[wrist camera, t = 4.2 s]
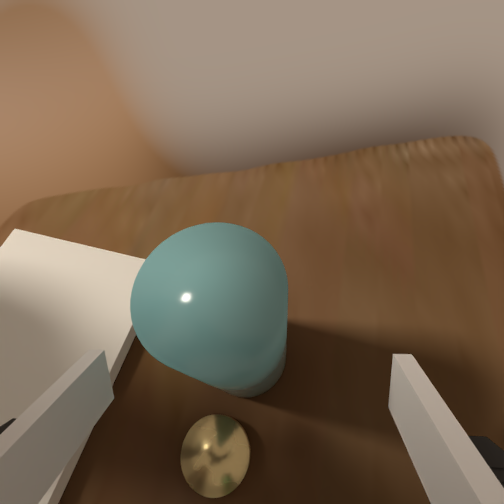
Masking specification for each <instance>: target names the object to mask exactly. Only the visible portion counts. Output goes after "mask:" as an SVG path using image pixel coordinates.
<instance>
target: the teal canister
mask: <svg viewBox="0 0 504 504" xmlns="http://www.w3.org/2000/svg"><path fill="white" fill-rule="evenodd" d="M287 310H288V281H287V275H286V271H285V268H284V265H283V263H282V261H281V259H280V257H279V255H278V254H277V252H276V251H275V249H274V248H273V247H272V246H271V245H270V244H269V243H268V242H267V241H266V240H265V239H264V238H263V237H261V236H260V235H259V234H257V233H255V232H253V231H252V230H250V229H247V228H245V227H242V226H239V225H235V224H229V223H205V224H200V225H196V226H192V227H189V228H186V229H184V230H182V231H179V232H178V233H176V234H174V235H172V236H170V237H169V238H168V239H166V240H165V241H163V242H162V243H161V244H160V245H159V246H158V247H156V248H155V249H154V250H153V252H152V253H151V254H150V255H149V256H148V257H147V259H146V260H145V261H144V263H143V265H142V266H141V268H140V270H139V271H138V274H137V276H136V278H135V281H134V284H133V288H132V292H131V299H130V312H131V320H132V324H133V327H134V330H135V332H136V335H137V337H138V339H139V340H140V342H141V344H142V345H143V347H144V348H145V349H146V350H147V351H148V352H149V353H150V354H151V355H152V356H153V357H154V358H156V359H157V360H158V361H160V362H161V363H163V364H165V365H166V366H168V367H171V368H173V369H175V370H177V371H179V372H182V373H184V374H186V375H188V376H191V377H193V378H195V379H197V380H199V381H202V382H204V383H206V384H208V385H211V386H213V387H215V388H217V389H219V390H222V391H224V392H226V393H228V394H231V395H233V396H237V397H244V398H246V397H254V396H258V395H261V394H263V393H265V392H266V391H268V390H269V389H271V388H272V387H273V386H274V385H275V384H276V382H277V381H278V380H279V378H280V377H281V375H282V372H283V370H284V367H285V363H286V344H287Z"/></svg>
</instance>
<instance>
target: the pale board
mask: <svg viewBox="0 0 504 504" xmlns="http://www.w3.org/2000/svg"><path fill="white" fill-rule="evenodd" d="M144 261H145V259H141V258H137V257H133V256H128V255H124V254H120V253H116V252H111V251H107V250H103V249H99V248H95V247H90V246H86V245H82V244H78V243H73V242H69V241H65V240H61V239H56V238H52V237H48V236H44V235H39V234H35V233H31V232H27V231H22V230H18V229H14V230H13V232H12V233H11V234H10V235H9V237H8V238H7V239H6V241H5V242H4V243H3V245H2V246H1V247H0V426H2V425H3V424H5V423H6V422H8V421H9V420H11V419H12V418H16V419H17V418H18V417H19V416H20V415H21V414H22V413H23V412H24V411H25V410H26V409H28V408H29V407H30V406H31V405H32V404H33V403H34V402H35V401H36V400H37V399H38V398H39V397H40V396H41V395H42V394H43V393H44V392H45V391H46V390H47V389H48V388H50V387H51V386H52V385H53V384H54V383H55V382H56V381H57V380H58V379H59V378H60V377H61V376H62V375H63V374H64V373H65V372H66V371H67V370H68V369H69V368H70V367H71V366H73V365H74V364H75V363H76V362H77V361H78V360H79V359H80V358H81V357H82V356H83V355H84V354H85V353H86V352H87V351H88V350H104V351H105V356H106V360H107V365H108V370H109V375H110V380H111V385H112V386H113V384H114V381H115V379H116V377H117V375H118V373H119V371H120V368H121V366H122V364H123V362H124V360H125V358H126V355H127V353H128V351H129V349H130V347H131V345H132V342H133V340H134V338H135V336H136V332H135V330H134V327H133V324H132V320H131V312H130V299H131V292H132V288H133V284H134V281H135V278H136V276H137V274H138V271H139V270H140V268H141V266H142V265H143V263H144ZM92 429H93V428H92ZM91 431H92V430H91ZM91 431H90V432H89V434H88V435H87V437H86V438H85V439H84V441H83V442H82V444H81V445H80V446H79V448H78V449H77V451H76V452H75V453H74V455H73V456H72V457H71V459H70V460H69V462H68V463H67V464H66V466H65V467H64V469H63V470H62V471H61V473H60V474H59V476H58V477H57V478H56V480H55V481H54V482H53V484H52V485H51V487H50V488H49V489H48V491H47V492H46V494H45V495H44V496H43V498H42V499H41V501H40V502H39V503H38V504H58V503H59V501H60V499H61V497H62V494H63V492H64V490H65V488H66V486H67V484H68V481H69V479H70V477H71V475H72V473H73V470H74V468H75V466H76V464H77V462H78V460H79V457H80V455H81V453H82V451H83V449H84V447H85V444H86V442H87V440H88V438H89V436H90V434H91Z"/></svg>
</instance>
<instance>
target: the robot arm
mask: <svg viewBox="0 0 504 504" xmlns="http://www.w3.org/2000/svg"><path fill="white" fill-rule="evenodd" d="M113 399H114V394H113V389H112V385H111V380H110V375H109V370H108V365H107V360H106V356H105V351H104V350H88V351H87V352H86V353H85V354H84V355H83V356H82V357H81V358H80V359H79V360H78V361H77V362H76V363H75V364H74V365H73V366H71V367H70V368H69V369H68V370H67V371H66V372H65V373H64V374H63V375H62V376H61V377H60V378H59V379H58V380H57V381H56V382H55V383H54V384H53V385H52V386H51V387H50V388H48V389H47V390H46V391H45V392H44V393H43V394H42V395H41V396H40V397H39V398H38V399H37V400H36V401H35V402H34V403H33V404H32V405H31V406H30V407H29V408H28V409H26V410H25V411H24V412H23V413H22V414H21V415H20V416H19V417H18V418H17V419H16V418H12V419H11V420H9V421H8V422H6V423H5V424H3V425H2V426H0V504H38V503H39V502H40V501H41V499H42V498H43V496H44V495H45V494H46V492H47V491H48V489H49V488H50V487H51V485H52V484H53V482H54V481H55V480H56V478H57V477H58V476H59V474H60V473H61V471H62V470H63V469H64V467H65V466H66V464H67V463H68V462H69V460H70V459H71V457H72V456H73V455H74V453H75V452H76V451H77V449H78V448H79V446H80V445H81V444H82V442H83V441H84V439H85V438H86V437H87V435H88V434H89V432H90V431H91V430H92V428H93V427H94V426H95V424H96V423H97V421H98V420H99V419H100V417H101V416H102V414H103V413H104V412H105V410H106V409H107V408H108V406H109V405H110V403H111V402H112V401H113ZM388 407H389V410H390V412H391V414H392V417H393V419H394V421H395V423H396V426H397V428H398V430H399V432H400V435H401V437H402V439H403V442H404V444H405V446H406V448H407V451H408V453H409V455H410V457H411V460H412V462H413V464H414V467H415V469H416V471H417V473H418V476H419V478H420V480H421V482H422V485H423V487H424V489H425V492H426V494H427V496H428V498H429V501H430V503H431V504H504V451H503V450H502V449H501V448H500V447H498V446H497V445H496V444H495V443H493V442H492V441H491V440H490V439H488V438H487V437H483V436H468V435H467V434H466V432H465V431H464V430H463V428H462V427H461V425H460V424H459V422H458V421H457V419H456V418H455V416H454V415H453V414H452V412H451V411H450V409H449V408H448V406H447V405H446V403H445V402H444V400H443V399H442V398H441V396H440V395H439V393H438V392H437V390H436V389H435V387H434V386H433V384H432V383H431V382H430V380H429V379H428V377H427V376H426V374H425V373H424V371H423V370H422V368H421V367H420V366H419V364H418V363H417V361H416V360H415V358H414V357H413V355H412V354H393V359H392V370H391V381H390V393H389V404H388Z"/></svg>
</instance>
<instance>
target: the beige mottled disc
mask: <svg viewBox="0 0 504 504" xmlns="http://www.w3.org/2000/svg"><path fill="white" fill-rule="evenodd" d="M250 458H251V447H250V441H249V438H248V435H247V433H246V431H245V429H244V428H243V426H242V425H241V424H240V423H239V422H238V421H237V420H235V419H234V418H232V417H230V416H227V415H222V414H215V415H209V416H206V417H204V418H202V419H200V420H199V421H197V422H196V423H195V424H194V425H193V426H192V427H191V428H190V430H189V431H188V433H187V434H186V437H185V439H184V441H183V444H182V449H181V468H182V472H183V475H184V477H185V479H186V481H187V483H188V484H189V486H190V487H191V488H192V489H193V490H194V491H195V492H196V493H198V494H200V495H202V496H204V497H208V498H219V497H222V496H225V495H227V494H229V493H230V492H232V491H233V490H234V489H235V488H237V486H238V485H239V484H240V483H241V481H242V480H243V478H244V476H245V475H246V473H247V470H248V467H249V464H250Z"/></svg>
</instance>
